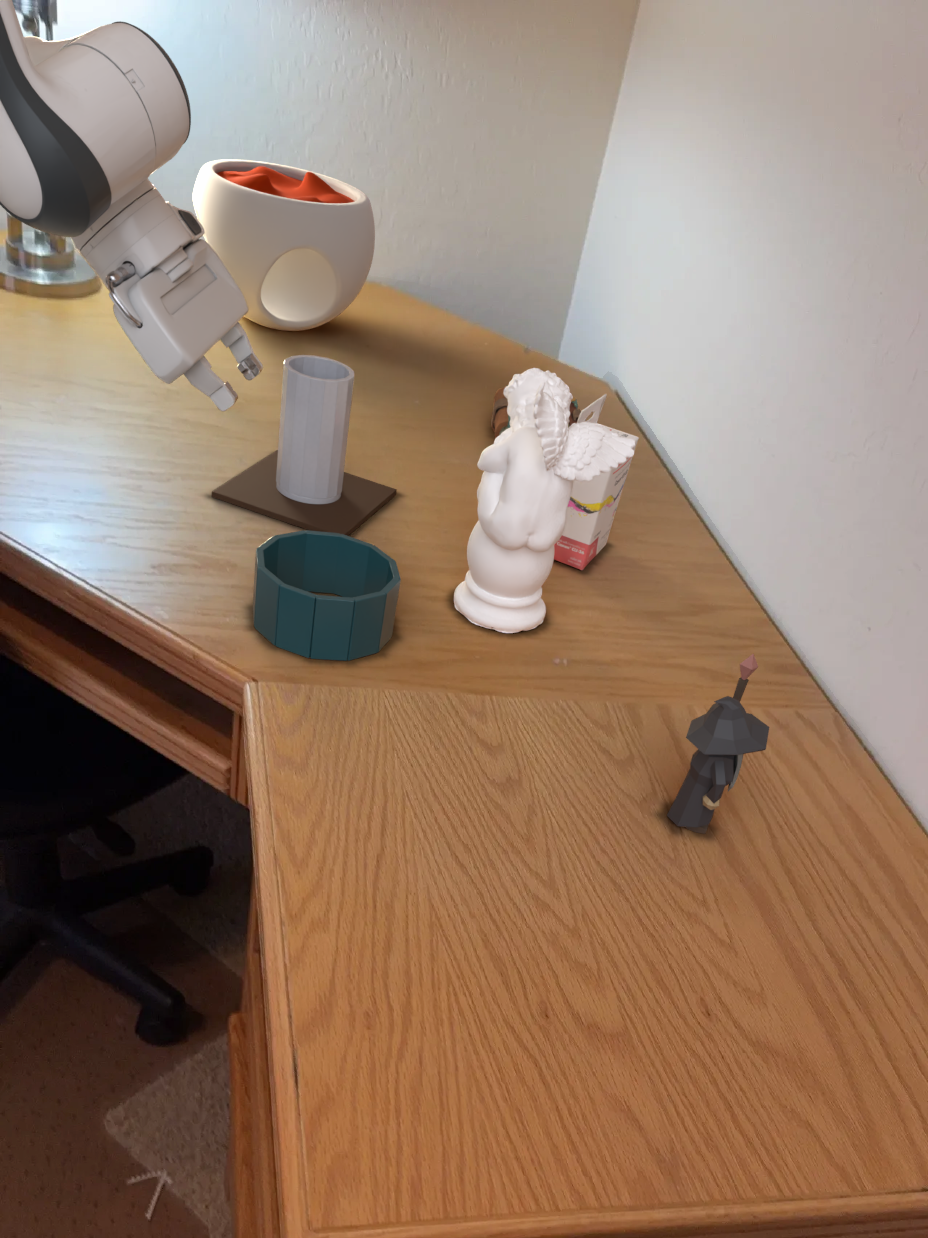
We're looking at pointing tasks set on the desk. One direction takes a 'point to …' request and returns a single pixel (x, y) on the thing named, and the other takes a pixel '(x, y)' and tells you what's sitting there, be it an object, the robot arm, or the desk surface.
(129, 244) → the robot arm
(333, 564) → the teal faceted ring
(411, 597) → the desk surface
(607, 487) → the ink cartridge box
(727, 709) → the wizard figurine
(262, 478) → the mat
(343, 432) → the cup
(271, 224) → the pot
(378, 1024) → the desk surface
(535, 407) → the cherub figurine
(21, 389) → the desk surface
